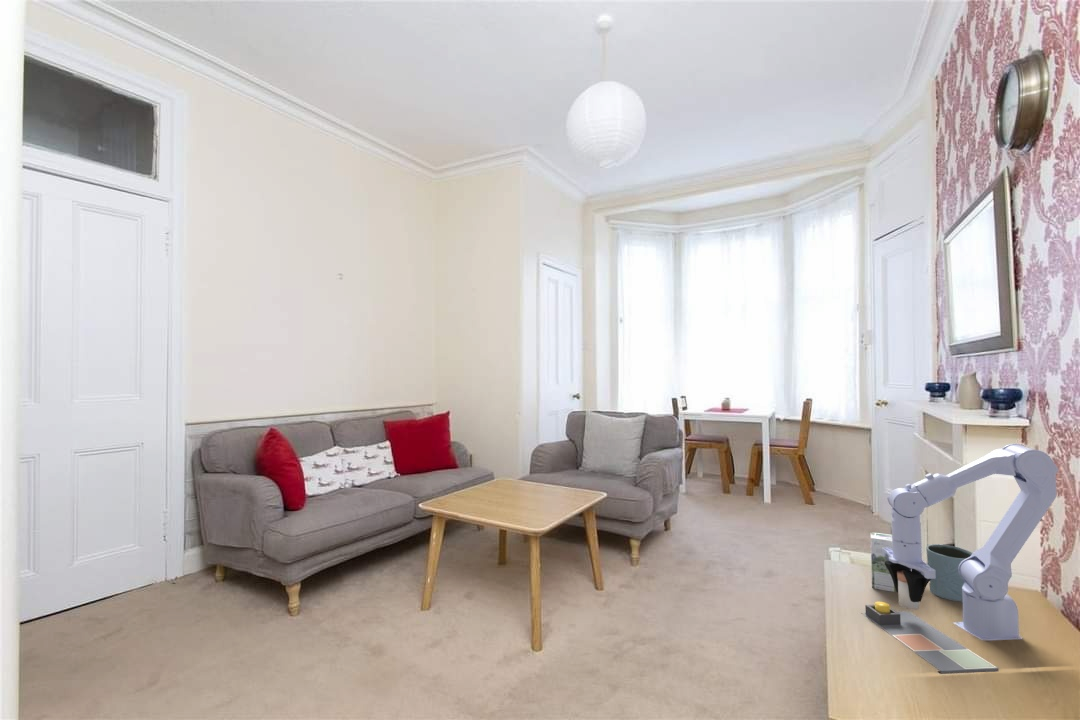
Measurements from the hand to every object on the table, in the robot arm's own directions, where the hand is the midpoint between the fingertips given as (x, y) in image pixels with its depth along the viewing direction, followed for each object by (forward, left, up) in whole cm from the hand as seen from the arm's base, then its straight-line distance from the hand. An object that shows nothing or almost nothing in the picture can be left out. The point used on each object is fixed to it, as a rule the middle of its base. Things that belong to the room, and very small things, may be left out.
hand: (908, 596), depth 123 cm
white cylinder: (0, 0, -2) cm, 2 cm away
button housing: (+6, -1, -5) cm, 8 cm away
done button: (+6, -1, -5) cm, 8 cm away
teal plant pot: (-21, -12, -6) cm, 25 cm away
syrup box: (-7, -18, -6) cm, 20 cm away
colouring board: (+3, +8, -6) cm, 10 cm away
